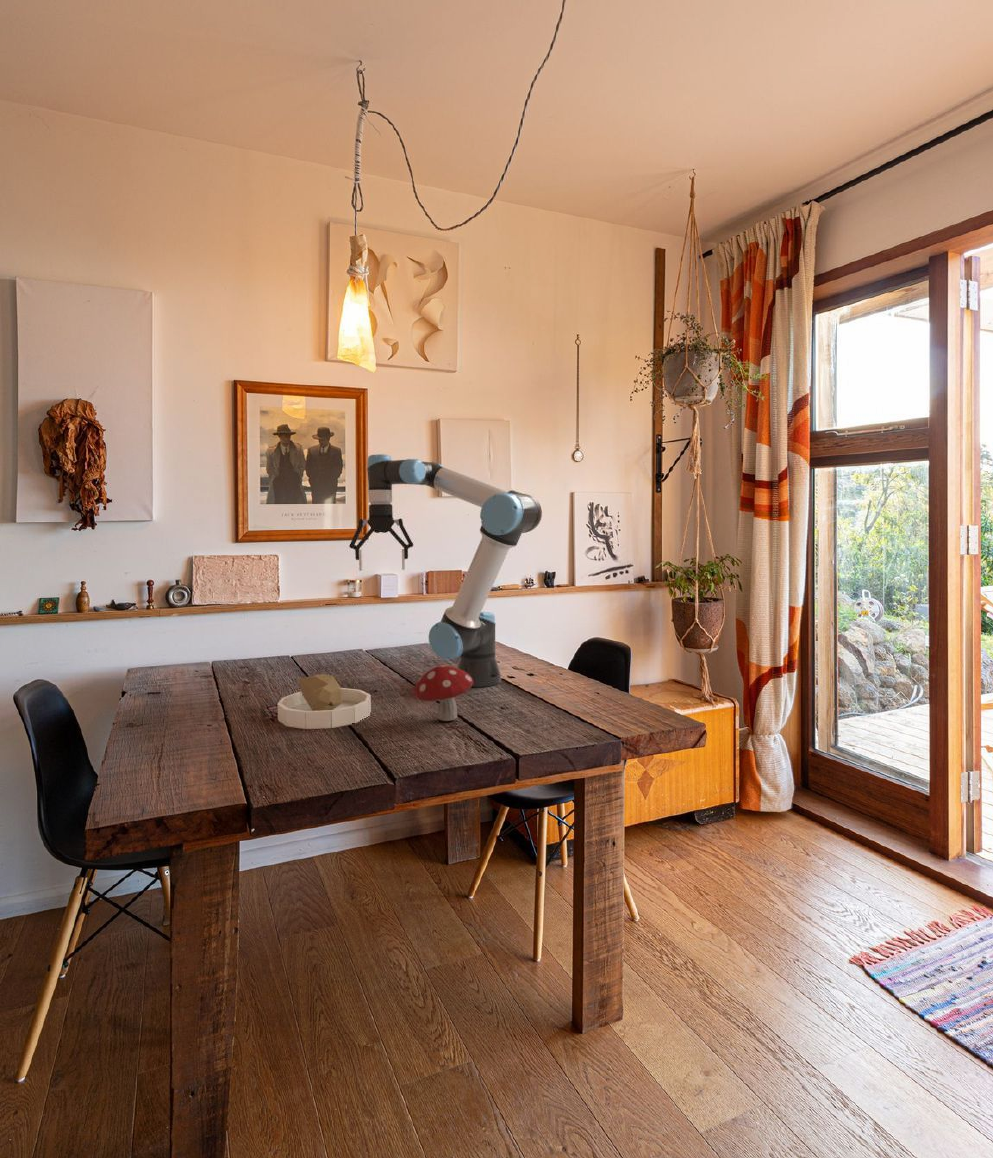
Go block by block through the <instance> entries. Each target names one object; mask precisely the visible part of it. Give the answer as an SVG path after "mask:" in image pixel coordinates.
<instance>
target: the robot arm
mask: <svg viewBox="0 0 993 1158" xmlns="http://www.w3.org/2000/svg"><path fill="white" fill-rule="evenodd" d="M366 465H367V467H366V471H367V483H368V484H367V487H368V489H367V493H368V494H367V495H368V499H367V500H368V503H370V504H369V505H368V519H362V518H360V519H359V521H358V527H357V529H356V531H355V533H354V535H353V537H352V539H351V541H350V543H349V545H348V546H349V548H350V549H353V550H354V552H355V553H354V554H355V560H356V561H358V567H359V569H358V570H359V571H363V549H361V548H362V546H363V545H364V544H365V543H366V541H367V540H368V539H369V538H370V537H371V536H372V534H373V533H376V534H379V533H384V534H386V533H388V532H389V534H391V536H393V537H394V539H395V540H396V541H397V543H399V544H400V546H402V548H401V566H402V569H401V570H403V571H405V570H406V567H405V565H406V564H405V563H406V561H405V560H408V559H409V549H410V548H412V547H414V543H413V541H412V539H411V537H410V536H409V534H408V532H407V530H406V528H405V526H404V522H403V519H402V518H398V519H394V517H393V514H394V513H393V511H394V510H393V504H392V503H393V485H416V486H418V485H419V486H426V487H430V488H431V489H435V490H438V491H440V492H443V493H444V494H447V495H450V496H452V497H455V498H457V499H459V500H462V501H465V502H467V503H469V504H472V505H474V506H477V507H479V508H481V509H480V514H479V517H480V520H481V521H480V522H481V526H480V528H479V533H480V534H481V539H480V541H479V544H478V546H477V549H476V551H475V553H474V555H473V558H472V560H471V562H470V565H469V567H468V569H467V572H466V574H465V576H464V578H463V581H462V583H461V586H460V588H459V590H458V593H457V595H456V597H455V599H454V601H453V604H452V606H449V607H447V608H446V609H444V613H443V615H442V618H441V620H440V621H438V622H437V623H435V624H433V625H432V626H431V628H430V629H429V633H428V643H429V645H430V648H431V650H432V652H433V654H434V655H436V656H437V657H439V658H440V659H441V660H442V659H443V660H446V661H449V660H457V659H458V658H459V660H458V663H457V666H456V668H459V669H461V670H463V671H465V672H467V673H468V674H469V675H470V676H471V677H472V679H473V681H474V683H473V685H472V686H471V688H473V687H474V688H483V687H484V688H485V687H491V686H492V687H493V686H495V685H499V684H500V683H501V682H502V674H501V671H500V669H499V665H498V661H497V659H496V625H497V624H496V617H495V614H494V613H493V612H489V611H488V612H487V611H483V609H484V606H485V604H486V602H487V599H488V598H489V595H490V592H491V591H492V589H493V586H494V584H495V582H496V579H497V577H498V575H499V572H500V571H501V568H502V567H503V563H504V561H505V559H506V557H507V555H508V553H509V551H510V549H512V548H515V547H516V546H517V545H518V543H519V540H520V538H521V537H522V534H525V533H529V532H531V531H533V530H535V529H536V528H537V527H538V526H539V524H540V523H541V520H542V517H543V515H542V514H543V510H542V506H541V504H540V502H539V501H538V500H537V499H536V498H535V497H534V496H532V495H530V494H526V493H521V492H520V491H516V490H513V489H510V490H508V491H506V490H504V489H501V488H499V487H497V486H493V485H491V484H489V483H485V482H483V481H480V480H477V479H475V478H473V477H470V476H467V475H465V474H463V473H460V472H457V471H454V470H452V469H449V468H447V467H444V466H443V464H440V463H437V462H435V461H434V462H433V461H431V462H430V461H421V460H420V459H418V458H407V459H396V460H393V459H392V457H391V455H390V454H384V453H383V454H382V453H381V454H370V455H369V456H368V457H367V464H366ZM394 524H395V525H396V526H398V527H399V528H400V531H401V532H402V534H403V536H404V538H405V540H406V542H407V543H405V541H404V540H403V539H402V538H401V537H400V536H399V535H398V533H397V532H396V531H395V530H394V529H393V528H392V527H393V526H394ZM366 525H368V526H369V530H368V531H367V532H366V534H364V535H363V537H362V538H361V539H360V541H359V542H358V543H357V541H358V538H359V536H360V534H361V533H362V530H363V527H365V526H366ZM356 543H357V545H356Z"/></svg>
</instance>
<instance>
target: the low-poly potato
mask: <svg viewBox="0 0 993 1158" xmlns="http://www.w3.org/2000/svg"><path fill="white" fill-rule="evenodd" d="M298 682H299V687H300V690H301V691H300V692H302V695H303V697H304V698H305V700H306V701H307V703H308V705H309V706H310V708H311V709H312V711H322V710H333V709H335V708H336V707H337V706H339V705H340V704H342V690H341V688H342V687H341V686H340V684H339V683H338V681H337V680H336V678H335V677H334V676H333V675H329V674H324V673H320V674H315V675H311V676H305V677H301V678H298Z"/></svg>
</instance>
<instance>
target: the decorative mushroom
mask: <svg viewBox="0 0 993 1158" xmlns="http://www.w3.org/2000/svg"><path fill="white" fill-rule="evenodd" d="M473 683H474V681H473V679H472V677H471V676H470V675H469V674H468V673H467V672H465V671H463V670H461V669H459V668H457V666H451V665H437V666H435V667H432V668H431V669H430V670H428V671H427V672H425V673H424V674H422V675H421V676H420V678H419V679H418V680H417V681H416V683H415V685H414V687H413V694H414V696H415V698H416V699H419V700H420V701H427V702H436V701H439V705H438V708H437V709H438V711H437V715H438V716H437V719H438V720H440V721H443V722H449V721H454V720H456V719H457V718H458V707H457V706H458V705H457V703H456V700H455V697H458V696H461V695H464V694H465V693H467V692H468V691H469V690H470V689H471V688H472V687H471V686H472V685H473Z"/></svg>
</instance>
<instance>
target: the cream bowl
mask: <svg viewBox="0 0 993 1158" xmlns="http://www.w3.org/2000/svg"><path fill="white" fill-rule="evenodd" d="M340 688H341V690H342V704H340V705H339V706H337V707H336V708H335V709H333V710H322V711H312V709H311V708H310V706H309V705H308V703H307V701H306V700H305V698H304V697H303V695H302V691H297V692H294V693H292V694H289V695H287V696H283V697H281V699H280V700H279V701H278V703H277V704H276V705H277V721H279V722H280V723H281V724H282V725H284V726H285V727H290V728H297V729H302V730H303V729H305V730H314V729H316V730H317V729H334V728H339V727H343V726H351V725H353V724H352V723H355V724H357V723H360V722H361V721H363V720H365V719H364V718H366V717H368V716H369V717H370V715H371V712H372V701H371V700H372V695H371V694H370V693H367V692H366V691H363V690H362V689H356V688H344V687H340ZM369 717H368V718H369ZM362 719H363V720H362ZM366 719H367V718H366ZM360 720H361V721H360Z"/></svg>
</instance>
